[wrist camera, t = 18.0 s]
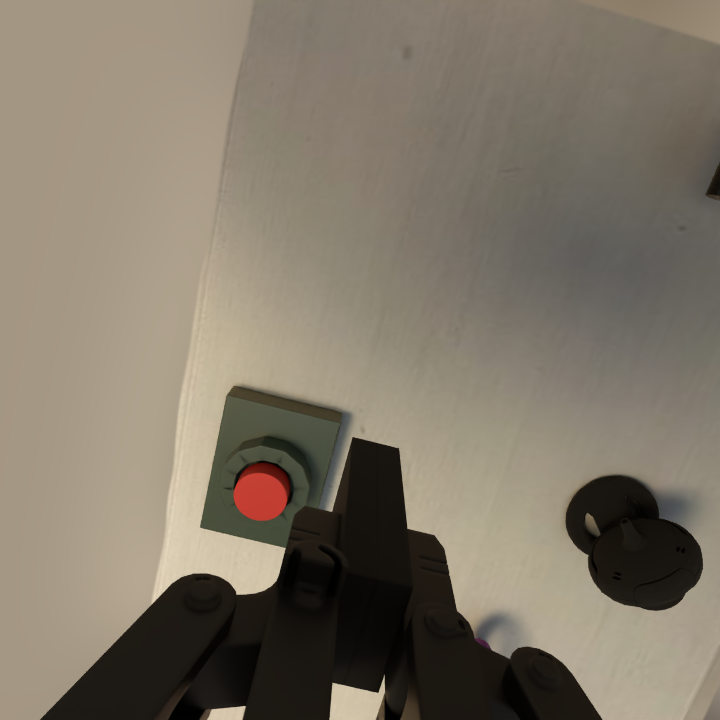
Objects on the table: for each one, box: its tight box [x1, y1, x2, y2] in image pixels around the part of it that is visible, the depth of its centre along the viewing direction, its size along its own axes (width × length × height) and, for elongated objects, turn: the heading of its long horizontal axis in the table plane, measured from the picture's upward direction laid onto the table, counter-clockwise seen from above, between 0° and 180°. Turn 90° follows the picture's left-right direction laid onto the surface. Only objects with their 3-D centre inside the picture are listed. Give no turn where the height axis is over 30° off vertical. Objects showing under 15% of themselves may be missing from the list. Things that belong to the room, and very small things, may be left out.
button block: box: [200, 386, 342, 548], centre depth 45 cm, size 12×9×4 cm
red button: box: [234, 463, 290, 521], centre depth 42 cm, size 4×4×2 cm
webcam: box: [566, 477, 703, 611], centre depth 42 cm, size 8×8×10 cm
